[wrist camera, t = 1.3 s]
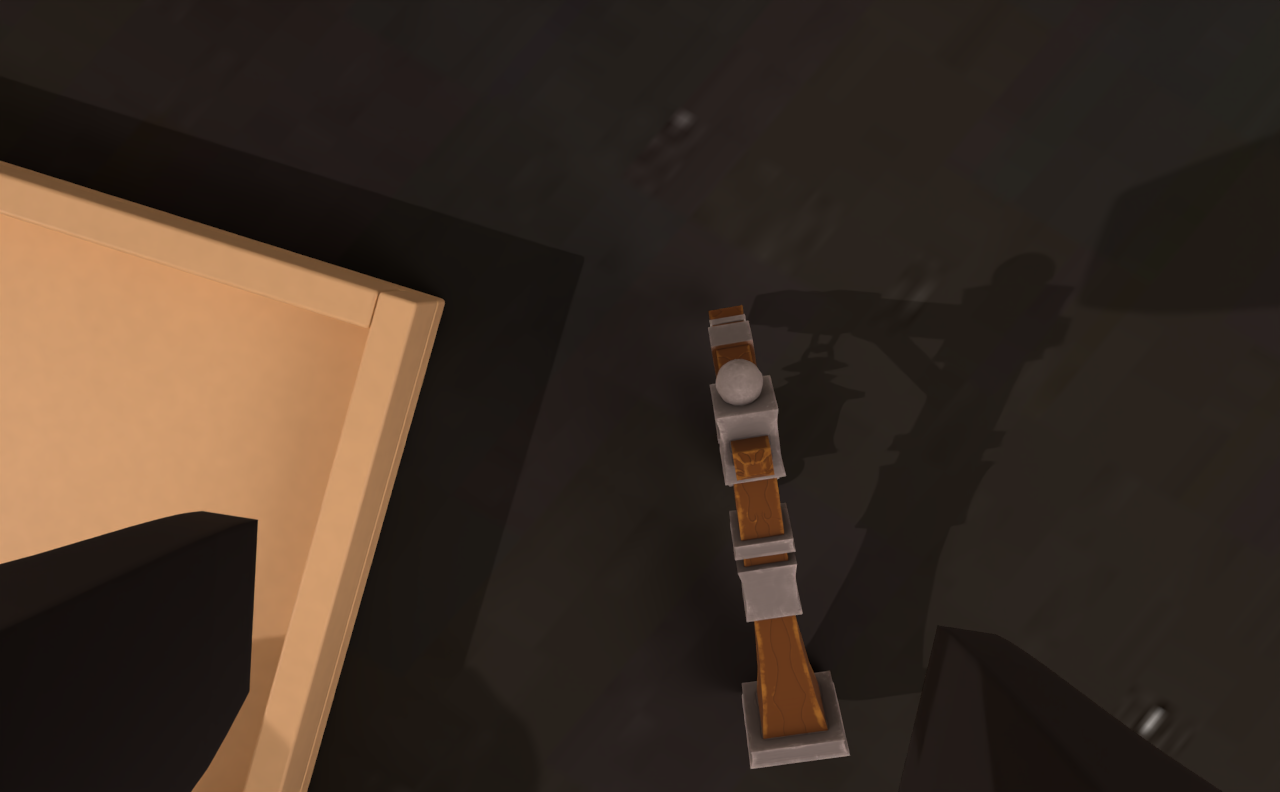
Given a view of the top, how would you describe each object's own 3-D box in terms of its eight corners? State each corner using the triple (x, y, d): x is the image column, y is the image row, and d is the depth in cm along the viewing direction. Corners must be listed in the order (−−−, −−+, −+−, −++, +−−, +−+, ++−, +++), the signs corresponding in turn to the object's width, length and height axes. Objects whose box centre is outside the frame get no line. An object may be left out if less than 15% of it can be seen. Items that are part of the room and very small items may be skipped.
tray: (446, 299, 21) (417, 303, 19) (283, 879, 23) (239, 941, 21) (-209, 94, 21) (-308, 76, 19) (-324, 679, 23) (-428, 720, 21)
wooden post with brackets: (768, 254, 20) (804, 379, 16) (814, 597, 24) (852, 764, 20) (667, 272, 20) (678, 400, 16) (730, 609, 24) (751, 778, 20)
